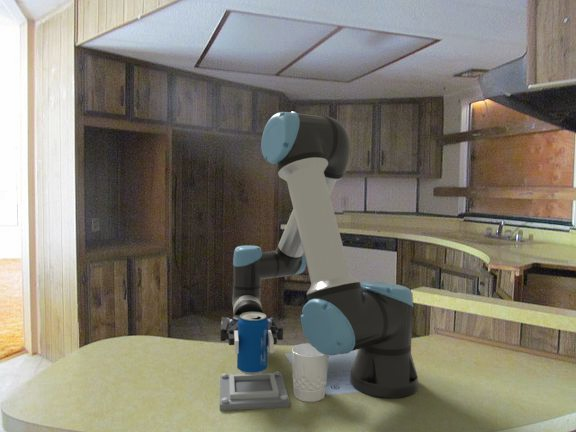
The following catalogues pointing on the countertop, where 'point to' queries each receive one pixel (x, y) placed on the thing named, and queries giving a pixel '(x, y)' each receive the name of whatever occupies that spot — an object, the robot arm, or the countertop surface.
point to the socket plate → (252, 391)
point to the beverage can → (252, 343)
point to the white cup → (309, 373)
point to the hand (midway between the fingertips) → (254, 346)
